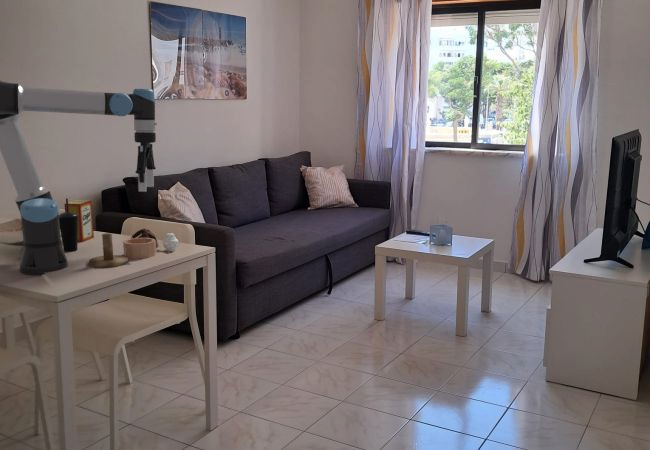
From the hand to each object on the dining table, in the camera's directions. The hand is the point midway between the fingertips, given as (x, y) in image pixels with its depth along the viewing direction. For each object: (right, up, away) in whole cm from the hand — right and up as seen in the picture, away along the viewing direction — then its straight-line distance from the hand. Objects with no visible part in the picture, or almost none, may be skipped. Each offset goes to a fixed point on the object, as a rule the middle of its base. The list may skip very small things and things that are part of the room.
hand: (146, 189), depth 247 cm
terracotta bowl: (-1, -25, -4) cm, 25 cm away
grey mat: (-9, -27, -16) cm, 33 cm away
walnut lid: (-9, -27, -16) cm, 32 cm away
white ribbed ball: (+8, -23, +6) cm, 25 cm away
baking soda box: (-34, -20, +25) cm, 46 cm away
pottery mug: (-4, -22, +13) cm, 26 cm away
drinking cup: (-31, -23, +6) cm, 39 cm away
